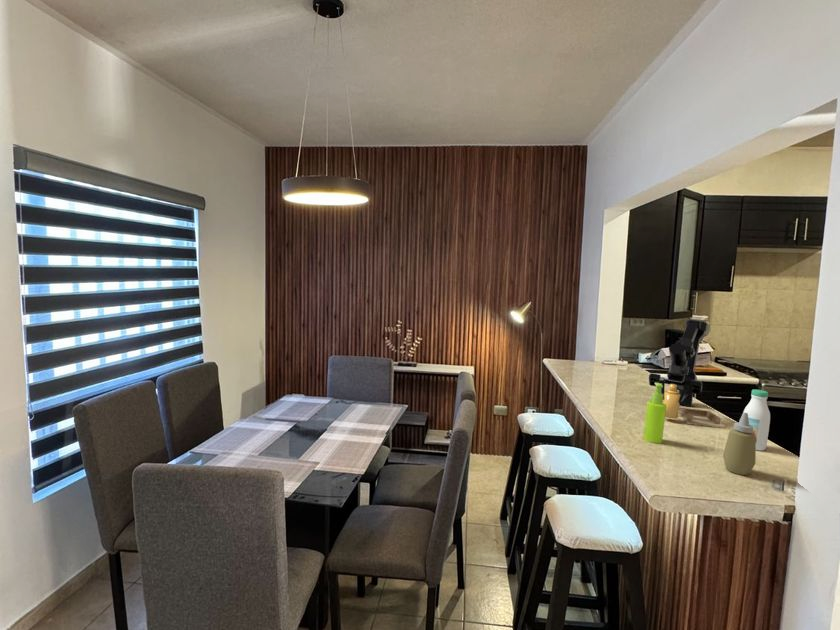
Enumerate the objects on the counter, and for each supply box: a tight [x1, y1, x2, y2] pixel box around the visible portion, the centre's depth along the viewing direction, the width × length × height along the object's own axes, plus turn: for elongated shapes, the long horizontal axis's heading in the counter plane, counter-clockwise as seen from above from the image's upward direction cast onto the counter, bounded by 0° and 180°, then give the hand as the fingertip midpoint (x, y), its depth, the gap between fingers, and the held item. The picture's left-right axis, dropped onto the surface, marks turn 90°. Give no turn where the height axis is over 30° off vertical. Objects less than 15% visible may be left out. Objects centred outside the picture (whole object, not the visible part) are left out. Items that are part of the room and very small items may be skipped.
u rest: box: [678, 407, 727, 429], centre depth 186 cm, size 14×14×3 cm
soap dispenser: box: [642, 383, 666, 444], centre depth 160 cm, size 6×7×20 cm
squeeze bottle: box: [722, 412, 757, 476], centre depth 137 cm, size 8×8×18 cm
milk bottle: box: [742, 388, 771, 452], centre depth 159 cm, size 8×8×20 cm
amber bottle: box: [663, 384, 681, 420], centre depth 183 cm, size 6×6×13 cm
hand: (671, 400), depth 182 cm, fingers closed on amber bottle, 6 cm apart
